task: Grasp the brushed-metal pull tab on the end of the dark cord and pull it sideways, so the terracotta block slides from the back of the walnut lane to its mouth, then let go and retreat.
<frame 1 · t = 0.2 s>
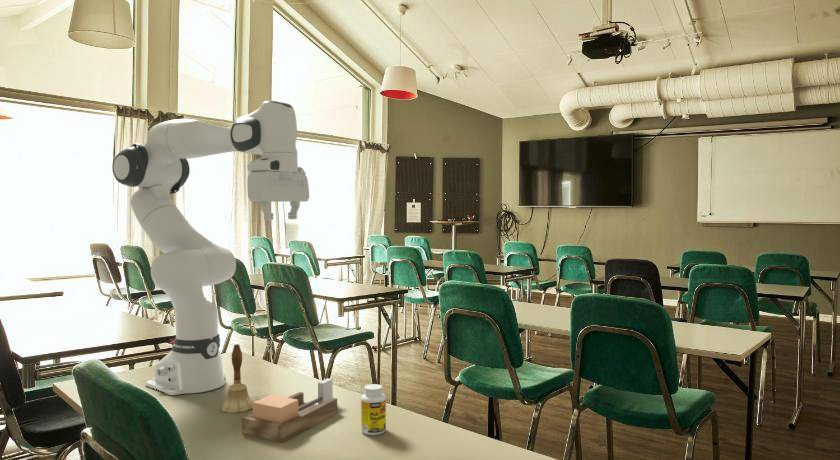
hand: (280, 219, 148), 47 cm above the table, fingers open, 8 cm apart
pull block: (300, 403, 139), point 4 cm above the table, slide at 0.0 cm
supplement bottle: (373, 432, 130), on the table
shelf lane: (292, 422, 136), on the table
hand bell: (238, 408, 147), on the table
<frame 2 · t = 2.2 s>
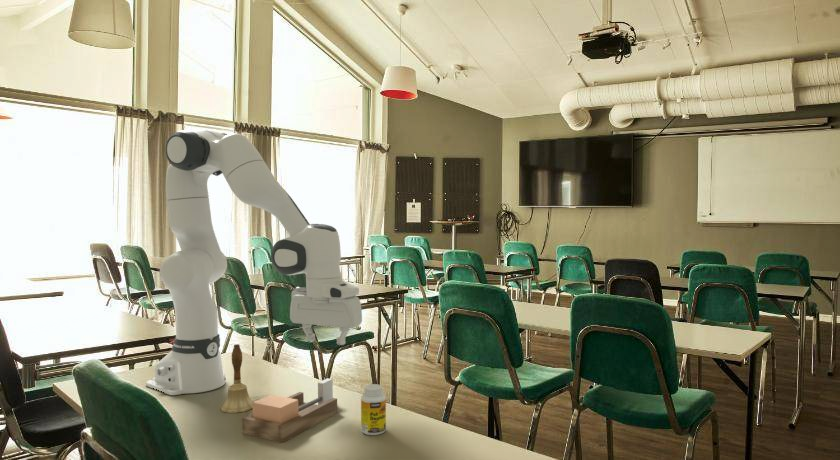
hand: (325, 342, 147), 16 cm above the table, fingers open, 8 cm apart
nothing on the table moved.
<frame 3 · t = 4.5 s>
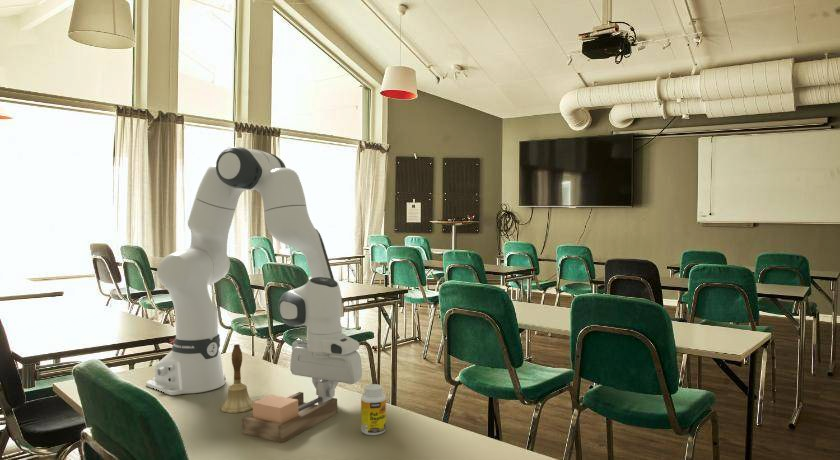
hand: (325, 395, 147), 2 cm above the table, fingers closed on pull block, 2 cm apart
pull block: (300, 403, 139), point 4 cm above the table, slide at 0.0 cm, touching gripper
everything else where it was.
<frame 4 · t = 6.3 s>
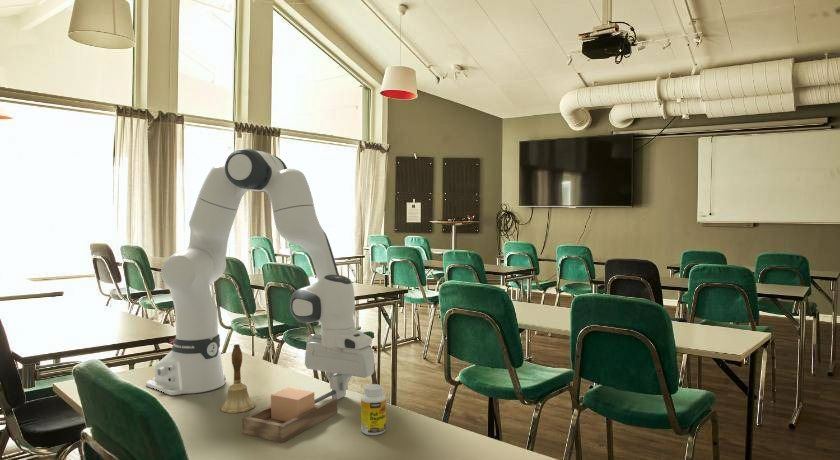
hand: (339, 389, 153), 2 cm above the table, fingers closed on pull block, 2 cm apart
pull block: (315, 396, 144), point 4 cm above the table, slide at 5.9 cm, touching gripper
everything else where it was.
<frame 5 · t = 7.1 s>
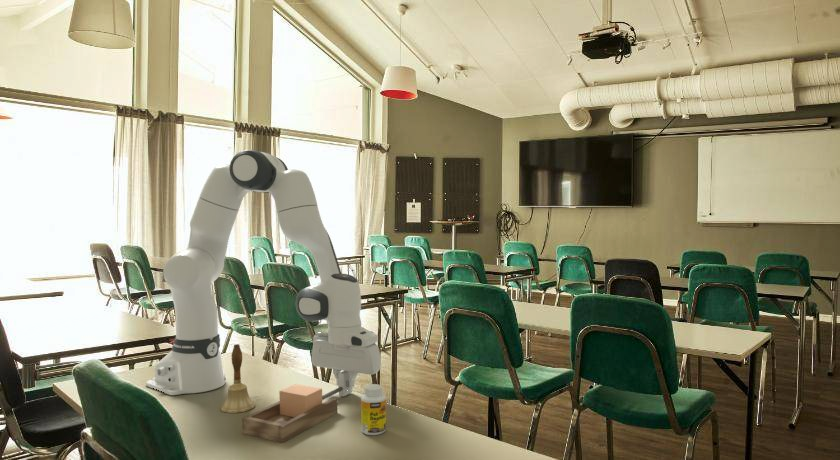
hand: (345, 386, 155), 2 cm above the table, fingers closed on pull block, 2 cm apart
pull block: (323, 392, 147), point 4 cm above the table, slide at 8.9 cm, touching gripper
everything else where it was.
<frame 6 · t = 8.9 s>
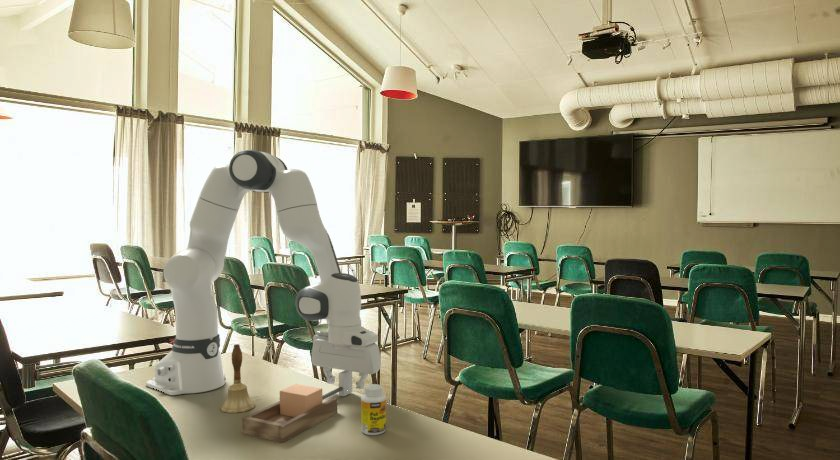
hand: (345, 385, 155), 3 cm above the table, fingers open, 8 cm apart
pull block: (323, 392, 147), point 4 cm above the table, slide at 9.0 cm
everything else where it was.
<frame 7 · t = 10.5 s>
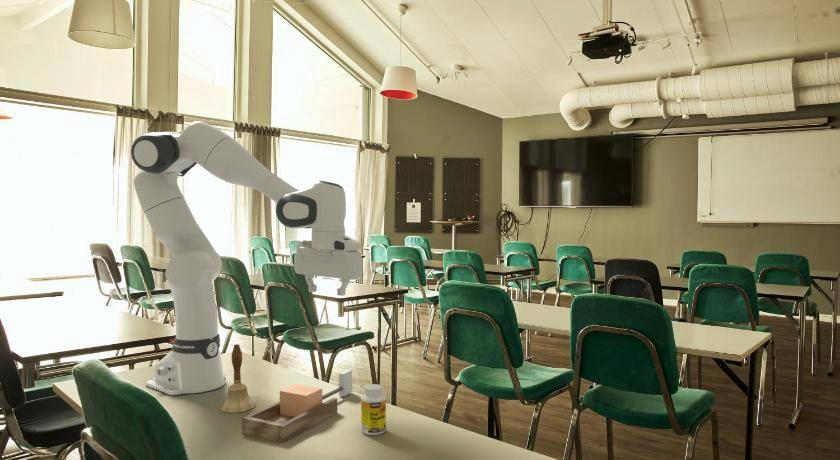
hand: (326, 293, 156), 27 cm above the table, fingers open, 8 cm apart
nothing on the table moved.
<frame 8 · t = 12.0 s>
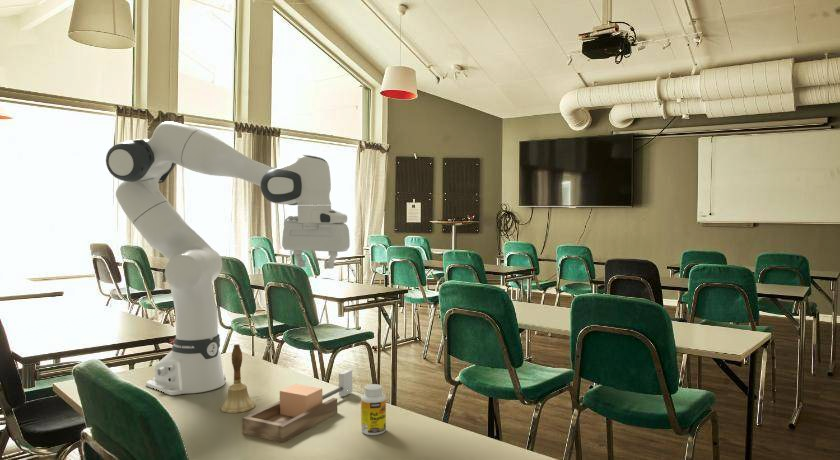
hand: (315, 267, 156), 34 cm above the table, fingers open, 8 cm apart
nothing on the table moved.
at the end: pull block slide at 9.0 cm; the gripper is holding nothing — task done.
